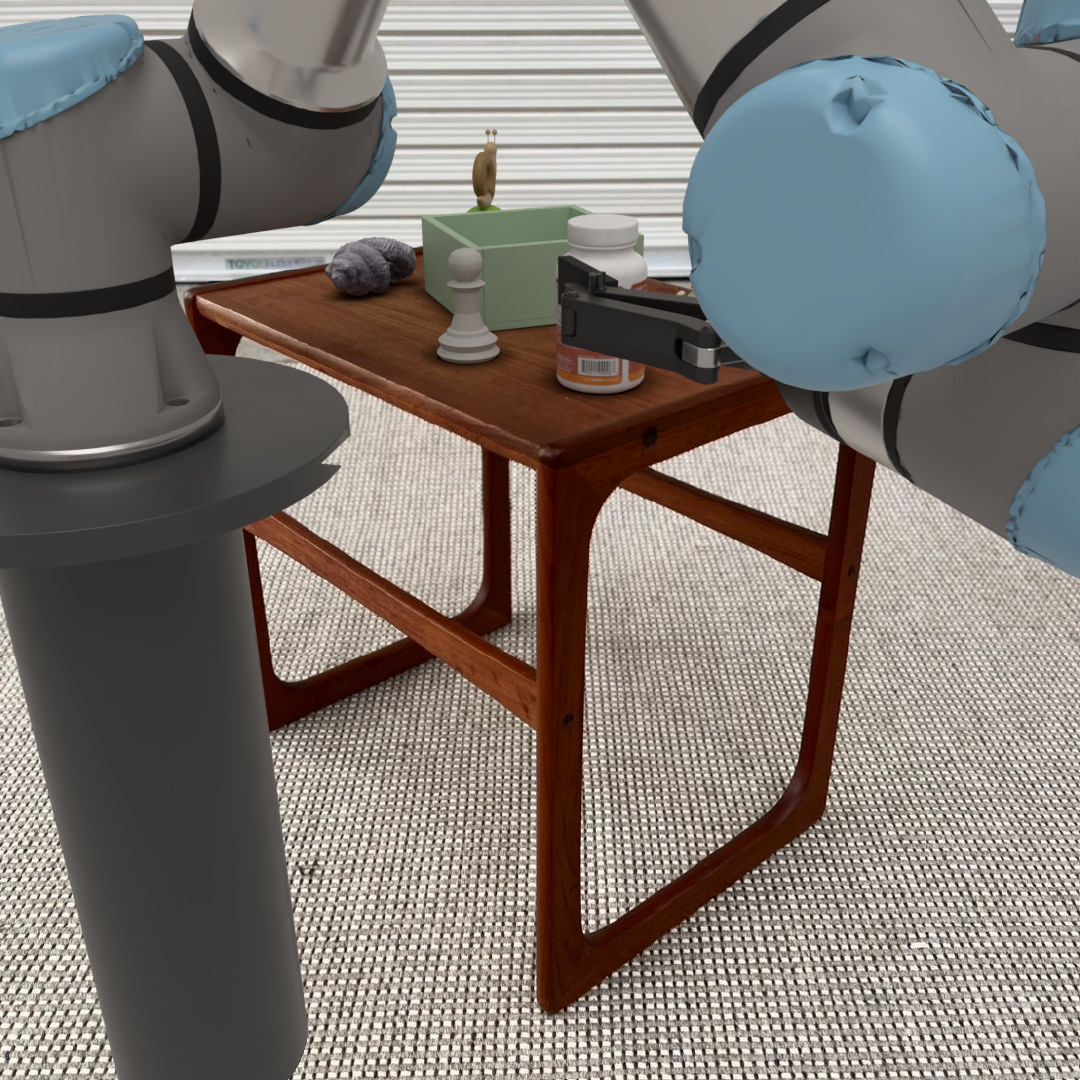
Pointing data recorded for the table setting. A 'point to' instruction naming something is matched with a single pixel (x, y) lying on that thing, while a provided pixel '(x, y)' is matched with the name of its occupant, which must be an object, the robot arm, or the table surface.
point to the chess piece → (467, 313)
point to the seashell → (371, 265)
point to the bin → (504, 260)
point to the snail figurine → (485, 176)
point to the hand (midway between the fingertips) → (670, 268)
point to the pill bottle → (612, 252)
